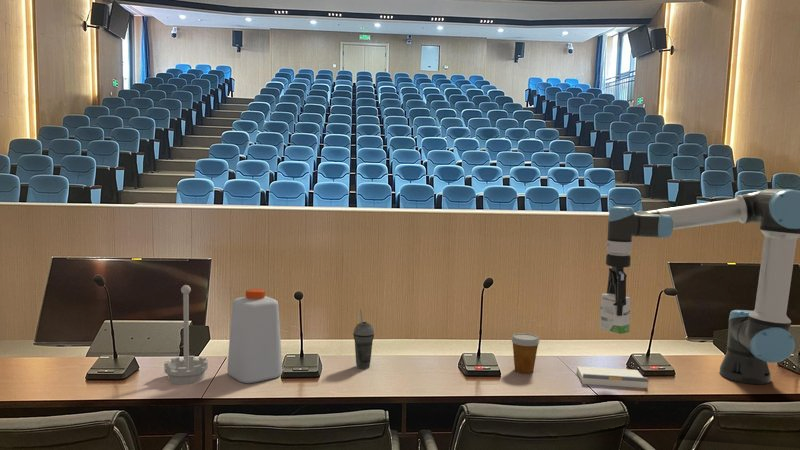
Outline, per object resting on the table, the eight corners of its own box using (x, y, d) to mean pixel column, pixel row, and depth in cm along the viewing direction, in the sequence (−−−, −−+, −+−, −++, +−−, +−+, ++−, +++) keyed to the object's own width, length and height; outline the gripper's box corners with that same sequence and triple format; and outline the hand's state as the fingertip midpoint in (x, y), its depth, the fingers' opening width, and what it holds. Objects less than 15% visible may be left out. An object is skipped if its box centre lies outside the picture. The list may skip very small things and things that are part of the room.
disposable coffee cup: (542, 369, 208) (543, 335, 207) (532, 377, 200) (534, 341, 199) (516, 364, 213) (517, 331, 212) (505, 371, 205) (507, 337, 204)
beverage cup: (373, 370, 202) (374, 312, 201) (351, 370, 202) (352, 311, 201) (374, 363, 210) (375, 307, 208) (353, 363, 210) (354, 306, 208)
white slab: (637, 375, 204) (637, 366, 204) (647, 388, 192) (647, 378, 192) (576, 372, 206) (577, 362, 206) (583, 384, 194) (583, 374, 194)
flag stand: (212, 381, 188) (212, 287, 186) (168, 388, 182) (167, 290, 179) (202, 369, 199) (202, 280, 197) (161, 375, 193) (160, 283, 190)
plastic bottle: (222, 373, 196) (222, 288, 193) (264, 364, 206) (265, 284, 203) (244, 386, 184) (244, 297, 182) (287, 376, 194) (288, 291, 192)
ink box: (629, 332, 196) (632, 297, 194) (620, 334, 193) (622, 298, 192) (607, 326, 203) (609, 292, 202) (598, 328, 200) (600, 293, 199)
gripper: (599, 249, 207) (596, 313, 209) (614, 258, 185) (610, 329, 187) (622, 250, 206) (618, 314, 208) (639, 259, 184) (635, 330, 186)
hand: (614, 321), depth 197 cm, fingers closed on ink box, 9 cm apart
